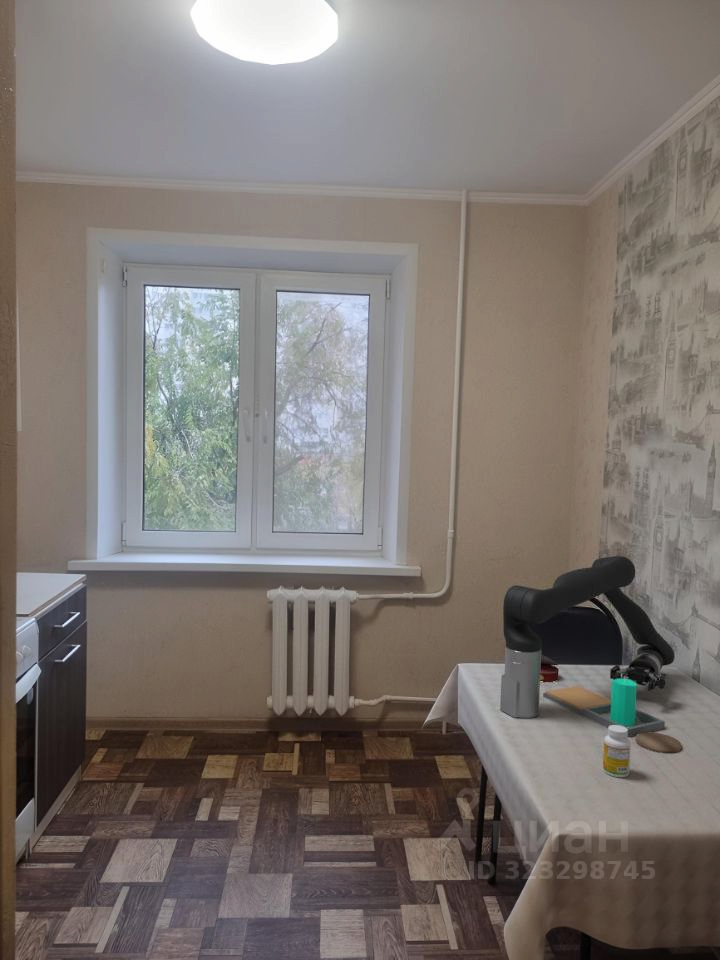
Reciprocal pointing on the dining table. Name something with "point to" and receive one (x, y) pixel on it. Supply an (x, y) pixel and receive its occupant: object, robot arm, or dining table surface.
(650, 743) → the coaster
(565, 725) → the dining table surface
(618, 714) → the candle
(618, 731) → the supplement bottle
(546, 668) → the canned food
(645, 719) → the case
